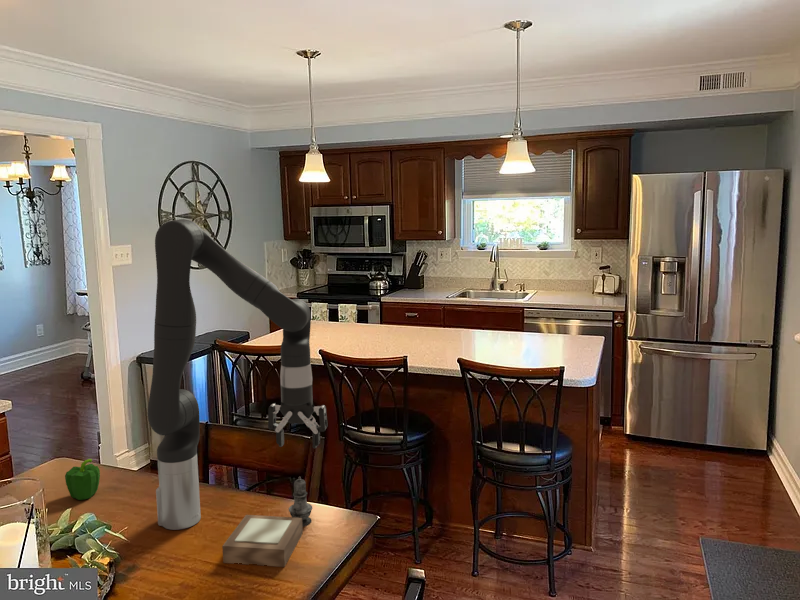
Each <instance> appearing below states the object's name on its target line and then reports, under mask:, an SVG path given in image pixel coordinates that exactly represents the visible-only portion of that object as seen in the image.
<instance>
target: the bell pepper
mask: <svg viewBox="0 0 800 600" xmlns="http://www.w3.org/2000/svg"><path fill="white" fill-rule="evenodd" d="M92 462H93V459H92V458H88V459H86V460H84V461H83V462H81V465H80V466H73V467H72V468H70V469H69V470H68V471H66V472H65V475H64V480H65V486H66V488H67V490H68V493H69V495H70V497H71V498H72V499H76V500H79V501H83V500H88V499H91V498H92V497H93V496H94V495H95V494H96V493H97V492H98V490H99V485H100V478H101V470H100V467H99V466H98V465H94V464H93V463H92Z"/></svg>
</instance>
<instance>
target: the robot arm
mask: <svg viewBox="0 0 800 600" xmlns="http://www.w3.org/2000/svg"><path fill="white" fill-rule="evenodd" d="M154 248H155V249H154V250H155V251H154V252H155V261H156V264H155V265H156V279H157V280H156V293H155V294H156V297H155V311H154V312H155V314H154V327H153V328H154V333H153V334H154V335H153V341H154V342H153V343H154V345H153V346H154V348H153V360H152V361H153V362H152V375H151V377H152V378H151V385H150V391H149V397H148V403H147V421H148V424H149V426H150V427H151V429H152V431H153V432H155V434H157V435H160V436H164V437H162V438H163V439H162V440H161V441H160V442H159V444H158V446H157V449H156V456H157V457H156V458H157V473H158V487H157V488H156V489H155V496H156V511H157V524H158V526H161V527H163V528H165V529H166V530H170V531H172V530H174V531H175V530H184V529H188V528H190V527H192V526H195V525H196V524H198V523H199V522H200V521H201V518H202V517H201V516H202V515H201V500H200V498H201V497H200V483H199V465H198V446H199V442H200V438H201V437H200V435H201V434H200V432H201V430H200V427H201V426H200V421H201V420H200V417H201V416H200V408H199V407H200V406H199V403H198V400H197V398H196V397H195V395H194V394H193V393H192V392H191V391H190V390H187V389H184V388H182V389H181V382H182V377H183V374H184V371H185V369H186V366H187V365H188V362H189V360H190V358H191V355H192V352H193V350H194V346H195V342H196V332H197V312H196V308H195V302H194V298H193V295H192V290H191V286H190V285H191V283H190V277H191V276H190V275H191V268H192V261H193V262H195V263H197V264H199V265H201V266H203V267H204V268H205V269H208V270H209V271H210V272H212V273H213V274H214V275H215V276H217V277H218V278H219V280H221V282H222V283H224V284H225V286H226V287H228V288H229V289H230V291H232V292H233V293H234V294H236V295H237V296H238V297H240V299H243V300H244V302H246V303H249V304H250V305H252V306H253V307H255V308H256V309H258V310H260V312H261V313H263V314H264V315H265V316H266V317H267V318H268V319H269V320H270V321H271V322H273V323H274V324H275V325H276V326H278V327H279V328H280V329H282V342H281V344H280V372H279V373H280V374H279V375H280V376H279V377H280V400H281V401H280V402H281V404H280V405H279V404H276V402H273V403H271V404H270V406H268V407H267V408H268V409H267V410H268V411H267V413H268V417H267V428H268V430H270V431H271V430H273V431H275V438H276V439H275V441H276V444H277V445H278V447H280V448H282V447H284V445H285V431H284V429H283V428H284V427H285V426H286V424H288V423H290V425H291V424H292V425H293V424H299V425H303V424H305V425H306V427H307V428H309V430H311V431H312V434H311V435H312V448H313V449H317V447H318V446H319V445H320V443H321V433H324V432H325V431H326V429H327V428H328V416H327V406H326V405H325V404H322V405H317V406H315V405H314V402H313V401H314V400H313V396H314V395H313V371H312V370H313V369H312V365H311V346H310V337H311V326H312V325H311V324H312V319H311V318H312V317H311V316H312V315H311V314H312V313H311V309H310V307H309V305H308V303H307V302H306V301H304V300H302V299H299V298H293V299H291V298H289V297H288V296H287V295H285V294H284V293H282V292H281V291H280V290H279V288H278V286H277V285H276V284H275V283H274V282H272V281H271V280H269V279H268V278H266V277H264V276H263V275H262V274H260V273H259V272H257V271H255V270H254V269H252V268H251V267H250V266H249V265H247V264H245V263H244V262H242V261H241V260H239V259H238V258H236V257H235V256H234V255H233V254H231V253H230V252H229V251H227V250H226V249H225V248H224V247H223V246H221V245H220V244H219V243H218V242H217V241H215V239H213V237H211V236H210V235H209V234H208V233H207V232H206V231H205V230H203V229H202V227H200V226H199V225H198V224H197V223H196V222H194V221H193V220H191V219H184V218H181V219H180V218H179V219H174V220H173V219H172V220H168V221H166V222H164V223H162V224H161V225H160V227H159V228H158V229H157V231H156V233H155V238H154ZM279 411H280V413H281V414H282V415H283V418H282V420H281V421H280V422H279V423H277V414H278V413H279ZM314 413H316V415H317V416H318V417H319V424H318V422H316V418H315V417H314V416H313V414H314Z"/></svg>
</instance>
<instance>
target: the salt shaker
mask: <svg viewBox="0 0 800 600" xmlns="http://www.w3.org/2000/svg"><path fill="white" fill-rule="evenodd" d="M306 488H307V487H306V481H305V479H302V478H301V476H300V475H299V476H298V479H296V480H294V483H293V493H292V496H293V504H291V505H290V506H289V507H288V512H289V514H290V516H291V517H295V518H302V528H303V527H307V526H309V525H311V523H312V518H311V517H310V516H311V513H312V510H313V505H312V504H310V503H308V502H307V501H308V500H307V496H308V492H307V491H306V490H307V489H306Z"/></svg>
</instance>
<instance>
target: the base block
mask: <svg viewBox="0 0 800 600" xmlns="http://www.w3.org/2000/svg"><path fill="white" fill-rule="evenodd" d="M238 523H239V524H238V525H237V526H236V528H235V529H234V530H233V531H232V533H231V534H230V535H229V537H228V538H227V539H226V540H225V542H224V543H223V545H222V560H223V561H222V563H223V564H234V563H238V564H237V565H240V564H239V563H242V564H241V565H249V564H257V565H256V566H264V565H267V566H266V567H278V568H279V567H280V568H285V567H286V565H287V563H288V562H289V560H290V558H291V556H292V554H293V552H294V551H295V548H296V547H297V545H298V543H299V541H300V539H301V537H302V535H303V531H304V530H303V527H302V518H295V517H292V516H291V517H290V516H278V515H277V516H274V515H272V516H271V515H255V514H245V515H244V517H243V518H242V520H240V522H238Z"/></svg>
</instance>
